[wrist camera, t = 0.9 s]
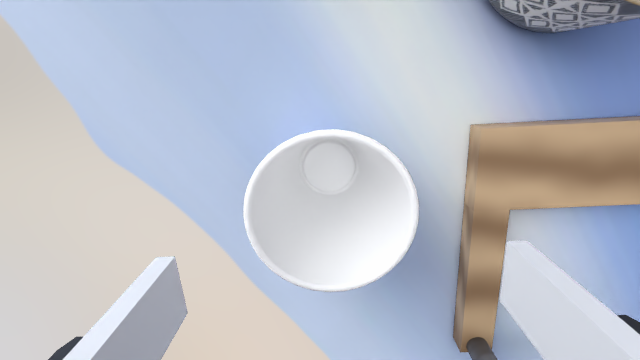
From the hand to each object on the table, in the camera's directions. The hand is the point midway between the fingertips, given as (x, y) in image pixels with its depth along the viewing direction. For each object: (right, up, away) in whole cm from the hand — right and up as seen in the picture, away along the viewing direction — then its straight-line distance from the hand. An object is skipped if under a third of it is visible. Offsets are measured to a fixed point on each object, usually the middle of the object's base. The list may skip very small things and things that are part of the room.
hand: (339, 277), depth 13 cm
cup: (0, +5, +16) cm, 17 cm away
